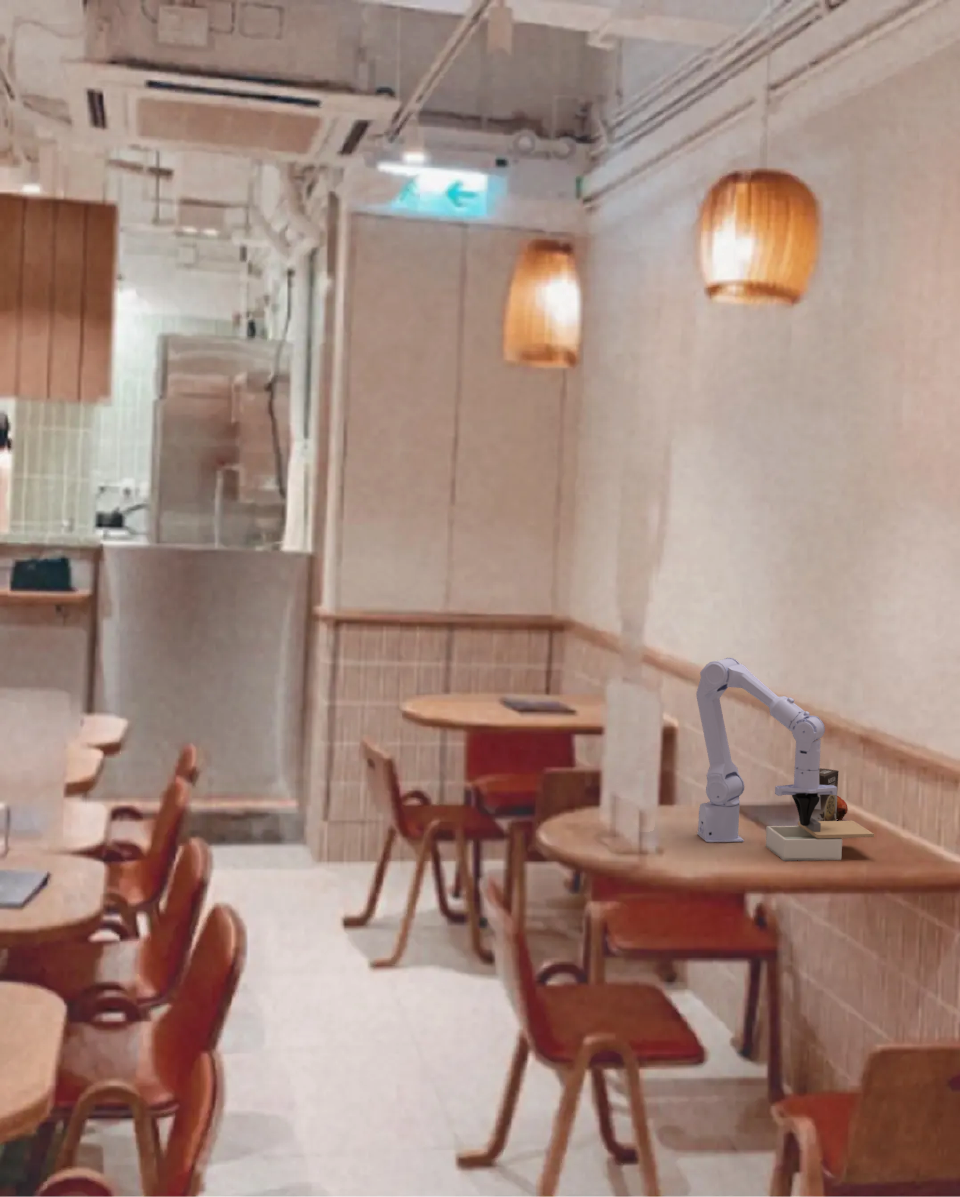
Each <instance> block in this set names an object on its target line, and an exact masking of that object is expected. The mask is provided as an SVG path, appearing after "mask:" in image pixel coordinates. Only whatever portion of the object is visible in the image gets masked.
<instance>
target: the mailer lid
mask: <svg viewBox="0 0 960 1197" xmlns="http://www.w3.org/2000/svg"><path fill="white" fill-rule="evenodd" d="M797 826H800V827H802V828H803V829H804V830H806V831H807V832H809V833H810V834H812V835H813V836H815V837H816V838H842V839H844V838H847V839H848V838H849V839H850V838H851V839H852V838H854V839H856V838H859V839H860V838H875V833H873V832H872V831H870V830H868V829H867V828H866V827H864V826H862V825H861V824H859V823H858V822H856V821H854V820H839V821H816V820H815V819H813V818H812V817H811V818H810V821H809V825H808V826H803V825H801V824H800V821H799V820H798V821H797Z"/></svg>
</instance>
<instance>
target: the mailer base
mask: <svg viewBox="0 0 960 1197" xmlns="http://www.w3.org/2000/svg"><path fill="white" fill-rule="evenodd" d="M765 831H766V834H765V835H766V836H765V847H766V849H768V848H769V849H770V850H769V849H768V850H769V851H771V853H773V854H774V855H776V856H777V855H778V856H779V857H780V858H779V857H778V856H777V857H778V858H779V859H781V861H783V862H801V861H804V862H809V861H811V862H812V861H841V860H842V857H843V856H842V852H843V851H842V849H843V838H816V837H815V836H813V835H812V834H810V833H809V832H807V831H806V830H804V829H803V828H802V827H800V826H799V825H781V826H780V825H779V826H778V825H773V826H772V825H771V826H768V825H767V826H766V830H765ZM797 860H798V861H797Z"/></svg>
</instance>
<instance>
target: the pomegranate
mask: <svg viewBox="0 0 960 1197" xmlns="http://www.w3.org/2000/svg"><path fill="white" fill-rule="evenodd" d="M848 812H849V810H848V804H847V802H846V801H845V800H844V799H843V798H842V797H841V796H840V795H837V810H836V819H838V820H839V821H843V820H844V817H845V816H846V814H848Z"/></svg>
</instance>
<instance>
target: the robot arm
mask: <svg viewBox="0 0 960 1197" xmlns="http://www.w3.org/2000/svg"><path fill="white" fill-rule="evenodd" d="M699 674H700V679H699V683H698V686H697V690H696V693H695V694H696V696H695V697H696V702H697V707H698V711H699V717H700V721H701V726H702V731H703V737H704V742H705V747H706V753H707V757H708V762H709V768H708V769H707V772H706V787H705V793H706V794H705V795H706V797H707V798H708V800H709V801H708V802H702V803H700V804H699V808H698V821H697V822H698V826H697V833H696V834H697V835H698V836H699V837H700V838H701V839H703V841H705V842H706V843H734V842H736V843H737V842H739V843H743V842H744V841H745V839H743V838H742V837H741V836H740V835H739V827H740V826H739V822H740V820H739V819H740V805H741V804H740V796H742V795H743V793H744V791H745V781H744V780H743V778H742V776H741V775H740V773H739V768H738V767H737V765H736V764H735V763H734V762H733V760H732V756H731V751H730V747H729V746H730V744H729V742H728V736H727V731H726V726H725V721H724V716H723V710H722V706H721V701H720V699H721V697H722V696H723V694H724V693H725V692H726V691H727V689H728V688H737V689H739V688H740V689H743V690H744V691H746V692H747V693H748V694H750V695H751V696H753V697H754V699H755V698H756V700H758V701H759V702H761V703H762V704H764V705H765V706H766V707H768V709H769V714H770V716H771V717H772V718H774V719H775V721H778V722H779V724H781V725H782V726H784V727H785V728H786V729H787V730H789V731H790V732H791V734H792V737H793V739H794V740H795V749H794V750H795V751H794V754H795V755H794V773H793V774H794V775H793V783H792V784H786V785H783V784H782V785H775V787H774V794H775V795H776V796H778V797H779V796H780V797H781V796H792V799H793V802H794V804H795V806H796V809H797V813H798V819H799V818H800V824H801V825H803V826H808V825H809V821H810V818H811V815H812V813H813V810H814V809H815V807H816V805H817V804H818V802H819V798H820V797H818V795H823V794H831V795H837V796H838V790H837V787H836V786H834V785H819V769H820V768H821V767H820V765H821V764H820V763H821V742H822V740H821V738H822V737H823V736H824V735H825V732H826V727H825V726H826V725H825V724H824V722H823V721H822V719H821V718H820V717H819V716H818V715H811V713H810V712H809V711H807V710H806V711H805V710H804V709H803V708H801V706H799V705H797V704H796V703H795V699H794V698H793V697H791V696H790V697H788V696H785V695H783V696H781V695H780V696H778V695H777V694H776V693H775V692H774V691H773V690H771V689H770V688H769V687H768V686H767V685H766V684H764V683H763V682H762V681H761V680H760V679H759V678H758V677H757V676H755V675H754V673H752V672H751V671H750V670H749V669H748V668H747V666H746V665H744V664H742V663H740V662H739V661H738V660H737V659H735V658H734V657H726V658H723V659H720V660H713V661H709V662H708V663H707V664H706V665H705V666H704V667H703V668H702V670H700V673H699Z"/></svg>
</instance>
